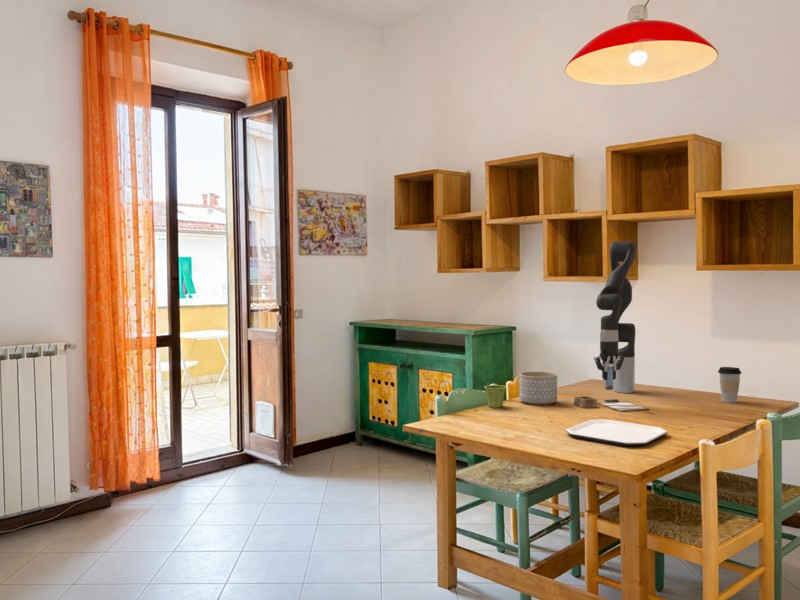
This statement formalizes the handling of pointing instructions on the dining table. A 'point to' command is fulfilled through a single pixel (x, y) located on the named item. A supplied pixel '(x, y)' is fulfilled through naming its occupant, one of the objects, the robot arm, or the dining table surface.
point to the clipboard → (621, 405)
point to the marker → (609, 377)
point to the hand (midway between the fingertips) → (608, 379)
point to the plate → (616, 432)
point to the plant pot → (495, 395)
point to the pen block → (585, 401)
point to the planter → (538, 388)
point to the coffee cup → (729, 383)
